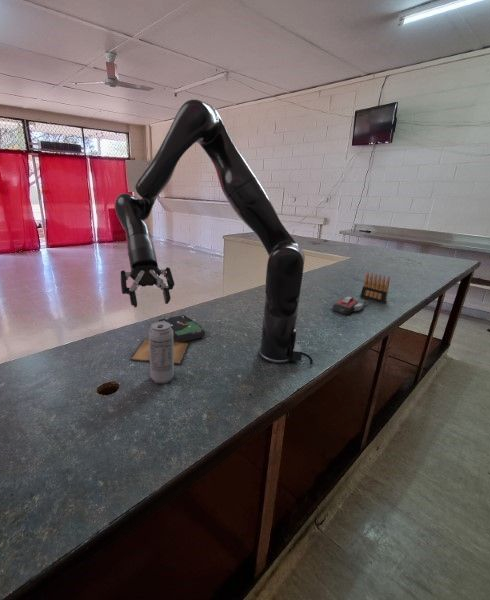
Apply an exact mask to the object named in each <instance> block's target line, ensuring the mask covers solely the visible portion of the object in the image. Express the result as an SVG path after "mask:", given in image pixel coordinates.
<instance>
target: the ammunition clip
mask: <svg viewBox="0 0 490 600" xmlns="http://www.w3.org/2000/svg"><path fill="white" fill-rule="evenodd" d="M390 280H391V277H390V276H387V278H386V275H383V277H382V274H379V276H378V274H377V273H375V275H374V274H373V272H371V273H370V272H369V271H367V272H366V274H365V278H364V281H363V286H362V288H361V292H360V296H359V297H360V298H363V299H365V300H371V301H374V302H379V303H382V304H386V303H387V299H388V295H389V294H388V293H389V289H390V282H391V281H390Z"/></svg>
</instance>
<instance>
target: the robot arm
mask: <svg viewBox="0 0 490 600" xmlns="http://www.w3.org/2000/svg"><path fill="white" fill-rule="evenodd" d="M195 143H196V144H199V146H200V147H201V148H202V149H203V150H204V152H205V153H206V155H207V156H208V158H209V159H210V161H211V163H212V164H213V167H214V169H215V171H216V175H217V178H218V182H219V185H220V188H221V191H222V193H223V195H224V197H225V198H226V200H227V202H228V203H229V205H230V206H231V208H232V209H233V211H234V212H235V213H236V215H237V216H238V218H240V220H241V221H242V222H243V223H244V224H245V225H246V226H247V227H248V228H249V229H250V231H252V232H253V233H254V234H255V235H256V236H257V238H258V239H259V241H260V242H261V244H262V245H263V247H264V249H265V252H266V253H267V255H268V259H267V262H266V272H265V285H264V286H265V287H264V293H265V294H264V295H265V299H264V306H263V307H264V308H263V317H262V318H263V320H262V330H261V338H260V348H259V356H260V357H261V358H262V359H263V360H265V361H267V362H268V363H273V364H285V363H292V362H293V361H299V362H301V361H302V356H304V357H306V358H307V359H308V360H309V364H310V365H313V364H314V361H313V358H312V356H311V355H309V354H308V353H306V352H303V351H302V346H301V344H298V343H297V344H296V337H297V329H296V326H297V320H298V319H297V318H298V312H299V304H300V297H301V288H302V282H303V274H304V268H305V261H306V260H305V259H306V257H305V253H304V251H303V249H302V247H301V246H300V245H299V244H298V242H297V241H295V239H294V237H292V235H291V234H290V232H289V231H288V230H287V229H286V227H285V225H284V224H283V223H282V221H281V220H280V218H279V216H278V214H277V212H276V209H275V207H274V205H273V203H272V202H271V200H270V198H269V196H268V195H267V193H266V191H265V189H264V188H263V186H262V184H261V182H260V181H259V179H258V178H257V176H256V175H255V173H254V172H253V170H252V168H251V167H250V166H249V164H248V162H247V161H246V160H245V158H244V156H242V154H241V153H240V151H239V150H238V149H237V147H236V145H235V144H234V142H233V140H232V137H231V136H230V134H229V132H228V131H227V128H226V126H225V124H224V121H223V120H222V117H221V116H220V113H219V112H218V110H217V109H216V108H215V107H214V106H213V105H212V104H210V103H208V102H205V101H203V100H200V99H195V98H194V99H189V100H187V101H185V102H184V103H183V104H182V105H181V107H180V108H179V109H178V111H177V113H176V115H175V116H174V119H173V121H172V123H171V125H170V127H169V129H168V131H167V133H166V135H165V137H164V139H163V140H162V143H161V145H160V146H159V148H158V150H157V152H156V153H155V155H154V156H153V158H152V160H151V161H150V162H149V164H148V165H147V167H146V168H145V169H144V170H143V172H142V174H141V175H140V176H139V178H138V179H137V180H136V182H135V185H134V189H135V191H136V193H137V195H139V196H140V197H141V198H140V197H138V196H135V195H132V194H130V193H126V192H123V193H120V194H119V195H118V196H117V197H116V198H115V202H114V210H115V214H116V217H117V219H118V221H119V223H120V224H121V226H122V228H123V230H124V234H125V238H126V239H125V240H126V243H127V244H126V247H127V256H128V260H129V266H130V271H126V270H121V271H120V277H119V279H120V289H121V294H122V295H128V296H129V302H130V305H131V306H133V308H137V307H138V299H137V294H136V291H137V290H138V288H139V287H147V286H149V287H152V286H155V287H157V288H158V289H160V290H161V291H162V296H163V300H164V304H165V305H168V304H169V302H170V301H171V293H170V290H173V289H174V286H175V281H174V277H173V273H172V271H171V268H170V267H169V266H167V267H165V269H160V268H159V265H158V260H157V255H156V251H155V247H154V246H155V245H154V243H153V240H152V236H151V232H150V228H149V225H148V223H147V222H146V221H147V220H148V218H149V217H150V215H151V213H152V210H153V208H154V205H155V203H156V200H157V198H158V197H159V195H160V194H161V193H162V192H163V190H164V189H165V188H166V187H167V185H168V184H169V182H170V181H171V179H172V177H173V174H174V172H175V170H176V167H177V165H178V163H179V161H180V160H181V158H182V157H183V155H184V154H185V153H186V152H187V151H188V150H189V149H190V148H191V147H193V145H194V144H195ZM161 275H162V276H163V277H164V278H165V280H166V282H165V281H164V279H163V278H162V277H161ZM129 278H131V279H132V280H133V282H132V284H131V285H130V287H129V286H128V285H127V281H128V280H129Z"/></svg>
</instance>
